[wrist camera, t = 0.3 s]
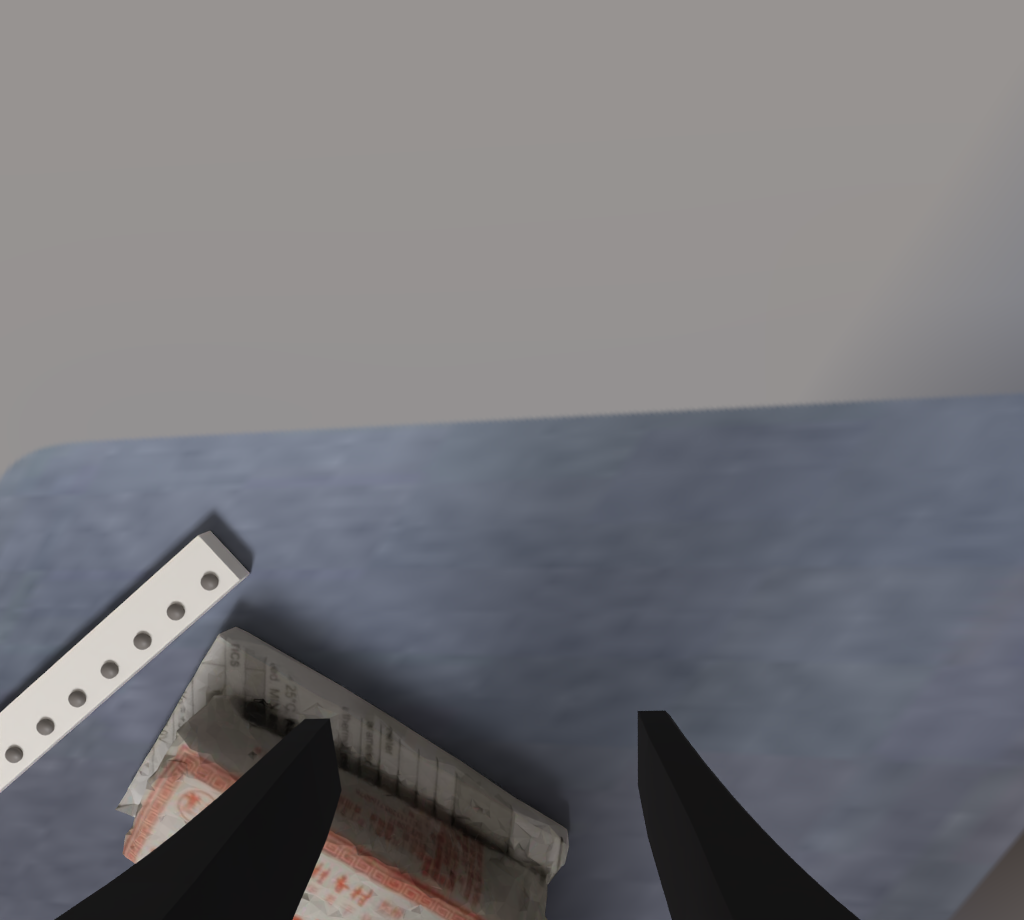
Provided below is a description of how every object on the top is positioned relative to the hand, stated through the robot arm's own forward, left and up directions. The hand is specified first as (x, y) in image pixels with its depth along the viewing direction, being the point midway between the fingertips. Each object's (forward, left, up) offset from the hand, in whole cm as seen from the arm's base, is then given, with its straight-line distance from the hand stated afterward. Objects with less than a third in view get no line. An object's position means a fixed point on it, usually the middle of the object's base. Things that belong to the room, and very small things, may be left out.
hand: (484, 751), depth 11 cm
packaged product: (-12, -3, -11) cm, 16 cm away
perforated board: (-16, +9, -10) cm, 21 cm away
